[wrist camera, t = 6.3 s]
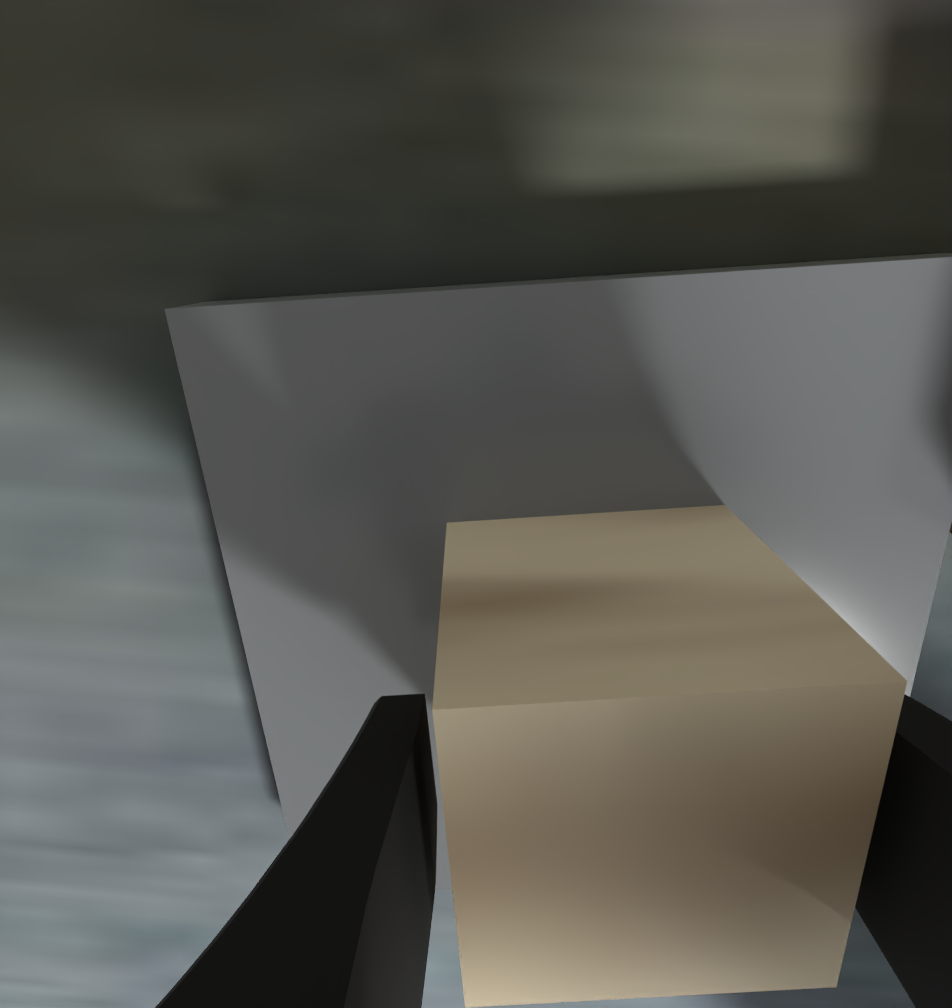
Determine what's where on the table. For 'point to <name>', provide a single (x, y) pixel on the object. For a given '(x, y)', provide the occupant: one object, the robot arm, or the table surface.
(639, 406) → the plate
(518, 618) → the maple block
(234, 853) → the table surface
